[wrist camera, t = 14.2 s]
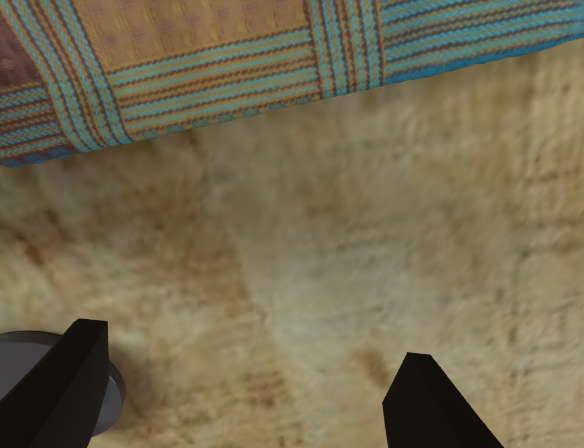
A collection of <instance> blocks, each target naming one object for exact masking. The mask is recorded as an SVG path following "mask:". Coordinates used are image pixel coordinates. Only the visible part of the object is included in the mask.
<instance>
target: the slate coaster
mask: <svg viewBox="0 0 584 448" xmlns="http://www.w3.org/2000/svg"><path fill="white" fill-rule="evenodd" d="M60 337H61V336H58V335H54V334H49V333H42V332H31V331H19V332H8V333H2V334H0V400H1V399H2V398H3V397H4V396H5V395H6V394H7V393H8V392H9V391H10V390H11V389H12V388H13V387H14V386H15V385H16V384H17V383H18V382H19V381H20V380H21V379H22V378H23V377H24V376H25V375H26V374H27V373H28V372H29V371H30V370H31V369H32V368H33V367H34V366H35V365H36V363H37V362H38V361H39V360H40V359H41V358H42V357H43V356H44V355H45V354H46V353H47V352H48V351H49V350H50V348H51V347H52V346H53V345H54V344H55V343H56V342H57V341H58V340H59V338H60ZM125 397H126V388H125V384H124V381H123V378H122V376H121V374H120V373H119V371H118V370H117V369H116V367H115V366H114V365H113V364H112V363H111V362H110V361H109V383H108V386H107V390H106V393H105V397H104V400H103V404H102V407H101V411H100V414H99V417H98V421H97V424H96V427H95V429H94V432H93V434H92V437H93V436H96V435H98V434H100V433H102V432H104V431H106V430H107V429H108V428H110V427H111V426H112V425H113V424H114V423H115V422H116V421H117V419H118V418H119V416H120V414H121V411H122V408H123V405H124V402H125Z"/></svg>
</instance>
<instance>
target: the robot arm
mask: <svg viewBox="0 0 584 448" xmlns="http://www.w3.org/2000/svg"><path fill="white" fill-rule="evenodd" d="M108 383H109V353H108V321H100V320H90V319H80V318H79V319H78V320H76V321H74V322H73V324H72V325H71V326H70V327H69V328H68V329H67V331H66V332H65V333H64V334H63V335H62V336H61V337H60V338H59V340H58V341H57V342H56V343H55V344H54V345H53V346H52V347H51V348H50V350H49V351H48V352H47V353H46V354H45V355H44V356H43V357H42V358H41V359H40V360H39V361H38V362H37V363H36V365H35V366H34V367H33V368H32V369H31V370H30V371H29V372H28V373H27V374H26V375H25V376H24V377H23V378H22V379H21V380H20V381H19V382H18V383H17V384H16V385H15V386H14V387H13V388H12V389H11V390H10V391H9V392H8V393H7V394H6V395H5V396H4V397H3V398H2V399H1V400H0V448H87V447H88V444H89V442H90V439H91V437H92V434H93V432H94V429H95V427H96V424H97V421H98V417H99V414H100V411H101V407H102V404H103V400H104V397H105V393H106V390H107V386H108ZM382 405H383V413H384V422H385V429H386V436H387V443H388V448H504V447H503V446H502V445H501V443H500V442H499V441H498V440H497V439H496V437H495V436H494V435H493V434H492V432H491V431H490V430H489V429H488V428H487V426H486V425H485V424H484V423H483V421H482V420H481V419H480V418H479V416H478V415H477V414H476V412H475V411H474V410H473V409H472V407H471V406H470V405H469V404H468V402H467V401H466V400H465V398H464V397H463V396H462V395H461V393H460V392H459V391H458V389H457V388H456V387H455V386H454V384H453V383H452V382H451V380H450V379H449V378H448V376H447V375H446V374H445V373H444V371H443V370H442V369H441V367H440V366H439V365H438V364H437V362H436V361H435V360H434V359H433V357H432V356H431V355H429V354H419V353H410V352H407V354H406V356H405V358H404V360H403V362H402V364H401V366H400V368H399V370H398V372H397V374H396V376H395V378H394V380H393V382H392V384H391V386H390V388H389V390H388V392H387V394H386V396H385V398H384V400H383V402H382Z"/></svg>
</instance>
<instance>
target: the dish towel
mask: <svg viewBox="0 0 584 448" xmlns="http://www.w3.org/2000/svg"><path fill="white" fill-rule="evenodd" d="M583 37H584V0H0V165H4V166H7V167H21V166H24V165H29V164H35V163H43V162H46V161H49V160H51V159H56V158H66V157H68V156H71V155H74V154H79V153H85V152H91V151H95V150H99V149H103V148H108V147H113V146H118V145H123V144H129V143H134V142H138V141H141V140H145V139H155V138H157V137H160V136H163V135H166V134H170V133H176V132H181V131H185V130H188V129H191V128H195V127H204V126H207V125H210V124H217V123H222V122H228V121H232V120H235V119H239V118H243V117H248V116H254V115H258V114H262V113H265V112H268V111H271V110H276V109H280V108H284V107H288V106H291V105H295V104H304V103H308V102H311V101H317V100H322V99H326V98H330V97H334V96H339V95H345V94H349V93H352V92H357V91H363V90H368V89H372V88H376V87H380V86H384V85H388V84H391V83H399V82H403V81H406V80H413V79H418V78H424V77H430V76H434V75H438V74H441V73H444V72H447V71H453V70H457V69H460V68H463V67H467V66H470V65H474V64H483V63H487V62H491V61H497V60H500V59H503V58H509V57H516V56H521V55H526V54H529V53H532V52H535V51H541V50H544V49H547V48H551V47H554V46H557V45H559V44H561V43H564V42H567V41H571V40H574V39H578V38H583Z"/></svg>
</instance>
